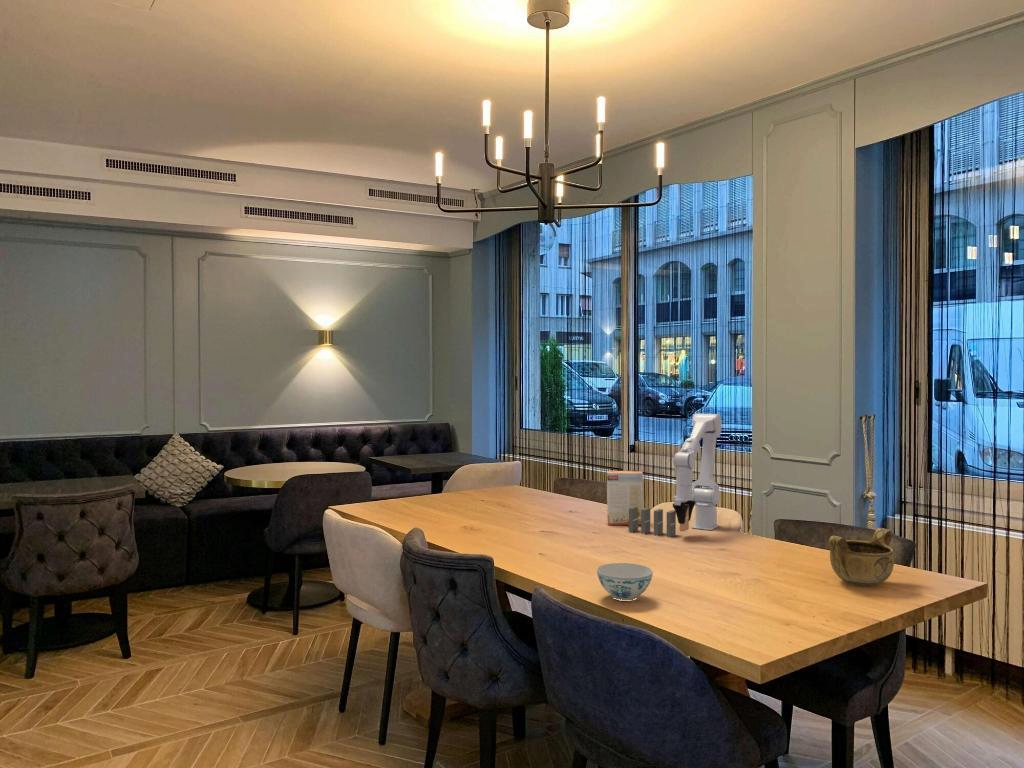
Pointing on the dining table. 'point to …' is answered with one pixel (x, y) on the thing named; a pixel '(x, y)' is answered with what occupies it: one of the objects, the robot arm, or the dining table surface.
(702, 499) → the robot arm
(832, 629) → the dining table surface
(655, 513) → the domino
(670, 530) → the domino
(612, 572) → the chinaware
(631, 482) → the cracker box
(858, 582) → the ceramic bowl
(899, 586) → the dining table surface
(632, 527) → the end domino
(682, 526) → the terracotta domino
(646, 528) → the domino
